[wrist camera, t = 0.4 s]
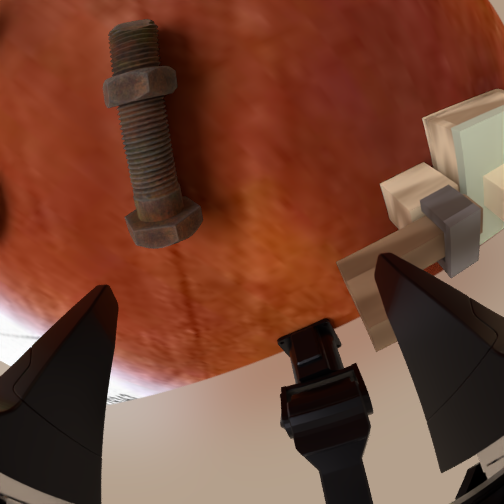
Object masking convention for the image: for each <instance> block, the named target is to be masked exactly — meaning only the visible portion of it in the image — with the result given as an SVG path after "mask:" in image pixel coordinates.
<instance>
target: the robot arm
mask: <svg viewBox="0 0 504 504" xmlns="http://www.w3.org/2000/svg"><path fill="white" fill-rule="evenodd" d="M374 278H375V282H376V285H377V287H378V290H379V293H380V296H381V299H382V302H383V306H384V309H385V312H386V315H387V317H388V320H389V322H390V325H391V327H392V329H393V332H394V334H395V336H396V339H397V341H398V344H399V346H400V348H401V351H402V353H403V356H404V358H405V361H406V364H407V366H408V369H409V371H410V374H411V377H412V380H413V382H414V385H415V388H416V391H417V393H418V396H419V399H420V402H421V405H422V408H423V411H424V414H425V418H426V420H427V425H428V428H429V431H430V434H431V438H432V441H433V445H434V448H435V452H436V456H437V460H438V464H439V468H440V471H441V473H443V472H445V471H447V470H449V469H451V468H453V467H455V466H457V465H458V464H460V463H462V462H464V461H465V460H467V459H469V458H471V457H472V456H474V455H476V454H477V456H478V459H479V461H480V462H479V463H477V464H476V465H474V466H472V467H471V468H469V469H468V470H467V473H466V475H465V478H464V480H463V482H462V485H461V487H460V489H459V491H458V494H457V496H456V498H455V499H456V500H455V501H454V502H452V503H450V504H504V317H502V316H500V315H499V314H497V313H495V312H493V311H492V310H490V309H488V308H486V307H485V306H483V305H481V304H480V303H478V302H476V301H475V300H473V299H471V298H469V297H468V296H467V295H465V294H463V293H462V292H460V291H458V290H457V289H455V288H453V287H452V286H450V285H448V284H447V283H445V282H443V281H441V280H440V279H438V278H436V277H434V276H433V275H431V274H429V273H427V272H426V271H424V270H422V269H420V268H418V267H417V266H415V265H413V264H411V263H409V262H408V261H406V260H404V259H402V258H400V257H398V256H397V255H395V254H393V253H391V252H386V253H380V254H379V255H378V258H377V263H376V267H375V272H374ZM117 318H118V303H117V300H116V298H115V296H114V294H113V292H112V290H111V288H110V286H109V285H98V286H96V287H95V288H94V289H93V290H91V291H90V292H89V293H88V294H87V295H86V296H85V297H83V298H82V299H81V300H80V301H79V302H78V303H77V304H76V305H75V306H73V307H72V308H71V309H70V310H69V311H68V312H67V313H66V314H65V315H64V316H63V317H61V318H60V319H59V320H58V321H57V322H56V323H55V324H54V325H53V326H52V327H51V328H50V329H49V330H48V331H47V332H46V333H45V334H44V335H43V336H42V337H41V338H39V339H38V340H37V341H36V342H35V343H34V344H33V345H32V348H31V347H30V348H29V349H28V350H27V351H26V352H25V353H24V354H23V355H22V356H21V357H20V358H19V359H18V360H17V361H16V362H15V363H14V364H13V365H12V366H11V367H10V368H9V369H8V370H7V371H6V372H5V373H4V374H3V375H1V376H0V504H101V469H102V468H101V467H102V458H101V457H102V444H103V430H104V420H105V410H106V402H107V394H108V387H109V380H110V373H111V367H112V361H113V355H114V349H115V340H116V328H117ZM277 342H278V345H279V346H280V347H281V348H282V349H283V350H284V351H285V353H286V354H287V355H288V356H289V357H290V358H291V363H292V368H293V373H294V378H295V382H296V384H294V385H290V386H287V387H286V386H285V387H281V392H282V393H281V394H280V398H281V422H280V424H281V427H282V428H284V429H285V430H286V431H287V433H288V435H289V437H290V438H291V439H292V438H294V443H295V447H296V449H297V451H298V452H299V453H300V454H301V455H302V456H304V457H305V458H306V459H307V460H308V461H309V462H310V463H311V464H312V465H313V466H314V467H316V468H317V469H318V470H319V473H320V478H321V482H322V487H323V492H324V497H325V501H326V504H373V501H372V497H371V493H370V488H369V484H368V480H367V476H366V473H365V468H364V465H363V461H362V457H363V454H364V451H365V448H366V445H367V441H368V438H369V434H370V428H371V425H370V421H369V418H368V415H371V414H373V408H372V404H371V400H370V397H369V394H368V391H367V388H366V386H365V383H364V381H363V378H362V376H361V373H360V371H359V369H358V366H357V364H356V363H354V364H352V365H351V366H349V367H346V368H344V367H343V364H342V361H341V358H340V355H339V352H338V349H337V348H339V347H341V342H340V340H339V338H338V337H337V335H336V333H335V331H334V329H333V327H332V325H331V324H330V322H329V320H328V319H323V320H321V321H319V322H317V323H314V324H312V325H310V326H308V327H305V328H303V329H301V330H298V331H296V332H294V333H291V334H289V335H286V336H284V337H282V338H279V339H278V340H277Z"/></svg>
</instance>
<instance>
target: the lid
mask: <svg viewBox="0 0 504 504" xmlns="http://www.w3.org/2000/svg"><path fill="white" fill-rule="evenodd" d="M451 131H452V136H453V141H454V147H455V154H456V160H457V168H458V176H459V186H460V193H461V194H465V195H467V196H468V197H469V198H471V199H472V200H473V201H475V202H476V203H477V204H478V205H480V206H481V207H482V208H483V232H482V233H481V234H480V245H481V244H483V243H484V242H485V241H487V240H488V239H490V238H491V237H493V236H494V235H495V234H497V233H498V232H500V231H501V230H502V229H504V105H502V106H500V107H497V108H495V109H493V110H490V111H488V112H486V113H484V114H481V115H479V116H477V117H474V118H472V119H470V120H468V121H465V122H463V123H461V124H459V125H456V126H454V127H452V128H451Z"/></svg>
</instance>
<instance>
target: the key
mask: <svg viewBox="0 0 504 504" xmlns="http://www.w3.org/2000/svg"><path fill="white" fill-rule="evenodd" d="M462 195H464V196H465V197H466V198H468V199H469V200H470V201H471V202H473V203H474V204H475V205H477V206H478V207H479V208H480V209H481V223H480V234H481V233H482V232H483V208H482V207H481V206H480V205H478V204H477V203H476V202H475V201H473V200H472V199H471V198H469V197H468V196H467V195H465V194H462ZM386 252H391V253H393V254H395V255H397V256H398V257H400V258H402V259H404V260H406V261H408V262H409V263H411V264H413V265H415V266H417V267H418V268H420V269H422V270H423V269H425V268H427V267H428V266H430V265H432V264H433V263H435V262H437V261H439V260H440V259H442V258H444V257H445V240H444V232H443V231H442V230H441V229H440V228H439V227H438V226H437V225H436V224H435V223H434V222H433V221H432V220H431V219H429V218H428V217H427V216H426V215H425V216H423V217H422V218H420V219H418V220H416V221H414V222H412V223H411V224H409V225H407V226H405V227H403V228H401V229H400V230H398V231H396V232H394V233H392V234H390V235H388V236H386V237H384V238H382V239H381V240H379V241H377V242H375V243H373V244H371V245H369V246H367V247H365V248H363V249H361V250H359V251H357V252H355V253H353V254H351V255H349V256H347V257H345V258H343V259H341V260H339V261H337V262H336V263H337V266H338V268H339V270H340V273H341V275H342V277H343V280H344V282H345V284H346V286H347V288H348V290H349V293H350V295H351V297H352V299H353V301H354V303H355V305H356V308H357V310H358V312H359V314H360V316H361V319H362V321H363V323H364V325H365V327H366V330H367V332H368V334H369V336H370V339H371V341H372V343H373V345H374V348H375V350H376V352H377V351H379V350H381V349H383V348H385V347H387V346H389V345H391V344H393V343H395V342H397V339H396V336H395V334H394V332H393V329H392V327H391V325H390V322H389V320H388V317H387V315H386V312H385V309H384V306H383V302H382V299H381V296H380V293H379V290H378V287H377V285H376V282H375V278H374V272H375V267H376V263H377V258H378V255H379V254H380V253H386Z"/></svg>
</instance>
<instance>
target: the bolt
mask: <svg viewBox="0 0 504 504" xmlns="http://www.w3.org/2000/svg"><path fill="white" fill-rule="evenodd" d="M157 28H158V26H157V25H155V23H154V21H152V20H149V19H144V20H138V21H132V22H127V23H122V24H119V25H117V26H115V27H114V28H113V29H112V30H111V31H110V32H109V35H108V36H110V37H109V40H110V42H109V44H110V47H109V48H110V49H111V51H110V53H111V54H112V55H111V56H110V57H111V58H112V60H111V62H112V63H113V64H112V65H111V67H113V69H112V72H114V74H113V75H112V76H113V77H111V78H109V79H107V80H105V81H104V84H103V93H104V100H105V104H106V106H107V107H108V108H111V107H115V106H119V107H118V108H117V110H119V111H120V112H119V113H118V115H120V118H119V120H121V122H120V125H122V127H121V128H120V130H123V132H122V133H121V135H124V136H123V138H122V140H125V141H124V142H123V144H124V145H126V146H125V147H124V149H125V150H126V152H125V154H126V155H127V156H126V158H127V159H129V160H128V161H127V163H128V164H129V165H128V168H129V169H130V170H129V173H130V174H131V175H130V178H131V183H133V184H132V187H133V193H134V196H133V198H134V202H135V206H136V210H134V211H133V212H131V213H130V214H128V215H127V216H125V220H126V223H127V227H128V230H129V232H130V235H131V237H132V239H133V241H134V242H135V244H136V245H137V246H142V247H146V248H153V249H154V248H163V247H166V246H169V245H172V244H175V243H178V242H180V241H182V240H185V239H187V238H189V237H190V236H192V235H193V234H194V233H195V232H196V230H197V229H198V228H199V226H200V225H201V223H202V221H203V217H202V211H201V206H199V205H198V204H197V203H195V202H194V201H192V200H191V199H189V198H188V197H186V196H183V197H182V193H181V188H180V184H179V183H178V180H177V176H176V174H177V173H176V171H175V170H176V167H175V166H174V165H175V163H174V157H172V156H173V152H171V151H172V150H173V149H172V148H171V147H170V146H172V144H171V143H170V141H171V139H170V138H169V137H170V134H169V133H168V132H169V131H170V130H169V129H168V128H167V127H168V126H169V125H168V124H167V123H166V122H168V119H165V118H166V117H167V116H168V115H166V114H164V113H165V112H166V111H167V110H165V109H164V107H165V106H166V105H164V104H163V103H164V102H165V100H163V98H164V97H165V96H164V95H167V94H172V93H173V92H174V91H175V89H176V88H177V79H176V71H175V70H174V69H172V68H171V67H169V66H159V64H160V63H161V62H159V61H158V60H159V59H160V57H158V55H159V54H160V53H159V52H158V51H159V50H160V48H157V47H158V46H159V44H158V43H157V42H158V41H159V39H157V36H158V34H156V33H157V32H158V30H157Z"/></svg>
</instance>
